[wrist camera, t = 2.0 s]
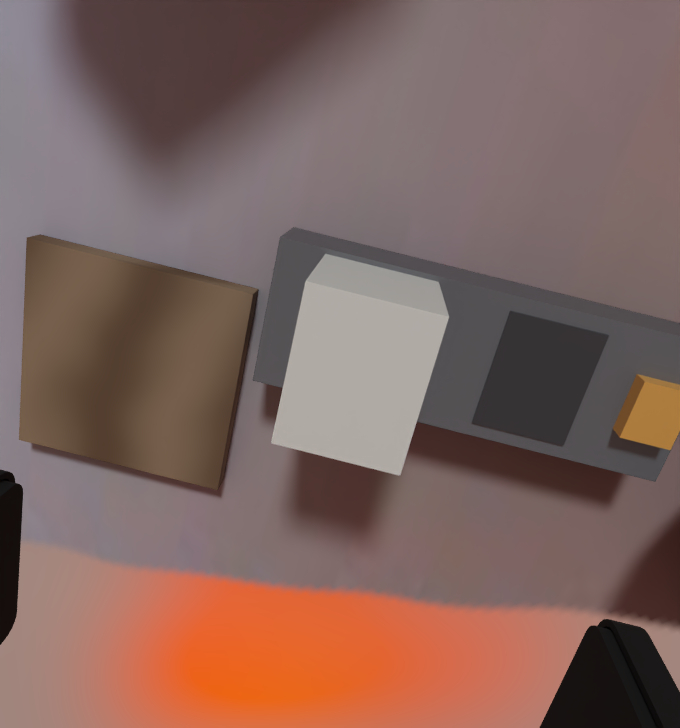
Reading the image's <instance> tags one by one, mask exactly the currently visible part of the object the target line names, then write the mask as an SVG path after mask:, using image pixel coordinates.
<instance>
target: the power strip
mask: <svg viewBox="0 0 680 728" xmlns="http://www.w3.org/2000/svg"><path fill="white" fill-rule="evenodd" d="M325 254H329V255H333V256H337V257H341V258H345V259H349V260H353V261H357V262H361V263H365V264H369V265H373V266H377V267H381V268H385V269H389V270H393V271H397V272H401V273H405V274H409V275H413V276H417V277H421V278H425V279H429V280H433V281H437V282H439V284H440V288H441V291H442V294H443V298H444V301H445V305H446V308H447V311H448V315H449V319H448V322H447V325H446V329H445V332H444V335H443V338H442V342H441V345H440V348H439V351H438V355H437V358H436V361H435V364H434V368H433V371H432V374H431V377H430V381H429V384H428V387H427V390H426V394H425V397H424V400H423V403H422V406H421V410H420V413H419V416H418V419H417V422H420V423H424V424H428V425H432V426H436V427H440V428H444V429H448V430H452V431H456V432H460V433H464V434H468V435H472V436H476V437H480V438H484V439H487V440H491V441H495V442H499V443H503V444H507V445H511V446H515V447H519V448H523V449H527V450H531V451H535V452H539V453H543V454H547V455H551V456H555V457H559V458H563V459H567V460H571V461H575V462H579V463H583V464H587V465H591V466H595V467H599V468H603V469H607V470H611V471H615V472H619V473H623V474H627V475H631V476H634V477H638V478H642V479H646V480H650V481H654V482H655V481H656V479H657V477H658V475H659V473H660V471H661V469H662V467H663V465H664V463H665V461H666V459H667V457H668V455H669V453H670V451H671V449H672V447H673V445H674V443H675V441H676V439H677V437H678V434H679V432H680V323H676V322H672V321H668V320H664V319H660V318H656V317H652V316H648V315H644V314H640V313H636V312H632V311H628V310H624V309H620V308H616V307H612V306H608V305H604V304H600V303H596V302H592V301H588V300H584V299H580V298H576V297H572V296H568V295H564V294H560V293H556V292H552V291H548V290H544V289H540V288H536V287H532V286H528V285H523V284H519V283H515V282H511V281H507V280H503V279H499V278H495V277H491V276H487V275H483V274H479V273H475V272H471V271H467V270H463V269H459V268H455V267H451V266H447V265H443V264H439V263H435V262H431V261H427V260H423V259H419V258H415V257H411V256H407V255H403V254H399V253H395V252H391V251H387V250H383V249H379V248H375V247H371V246H367V245H363V244H359V243H355V242H351V241H346V240H342V239H338V238H334V237H330V236H326V235H322V234H318V233H314V232H310V231H306V230H302V229H298V228H294V227H293V228H292V229H291V230H289V231H288V232H286V233H285V234H284V235H282V236H281V237H280V241H279V246H278V251H277V256H276V261H275V267H274V272H273V277H272V282H271V287H270V293H269V298H268V303H267V308H266V314H265V319H264V324H263V329H262V334H261V340H260V345H259V350H258V355H257V361H256V366H255V371H254V376H253V381H257V382H261V383H265V384H269V385H273V386H277V387H281V388H283V385H284V380H285V375H286V371H287V366H288V361H289V356H290V352H291V347H292V342H293V338H294V333H295V328H296V323H297V319H298V314H299V309H300V305H301V300H302V295H303V291H304V286H305V281H306V280H307V278H308V277H309V276H310V274H311V273H312V271H313V270H314V269H315V267H316V266H317V265H318V263H319V262H320V260H321V259H322V258H323V256H324V255H325Z"/></svg>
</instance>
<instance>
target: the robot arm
mask: <svg viewBox="0 0 680 728" xmlns="http://www.w3.org/2000/svg"><path fill="white" fill-rule="evenodd" d="M22 502H23V488H22V486H21V485H20V484H17V483H15V478H14V475H13V474H12V473H10V472H8V471H4V470H0V645H1V643H2V642H3V641H4V640H5V638H6V637H7V636H8V634H9V632H10V630H11V629H12V627H13V624H14V622H15V618H16V614H17V599H18V579H19V560H20V541H21V522H22ZM540 728H680V692H679V690H678V688H677V686H676V684H675V683H674V681H673V679H672V677H671V675H670V673H669V671H668V670H667V668H666V666H665V664H664V662H663V661H662V658H661V657H660V655H659V653H658V651H657V649H656V648H655V646H654V644H653V642H652V640H651V638H650V636H649V635H648V633H647V632H646V631H645V630H644V629H643V628H641V627H638V626H634V625H630V624H625V623H621V622H617V621H613V620H609V619H604V620H603V621H601V622H600V623H599V625H598V626H590V627H589V628H588V629H587V631H586V633H585V635H584V637H583V639H582V641H581V643H580V645H579V647H578V649H577V652H576V654H575V656H574V658H573V660H572V662H571V664H570V666H569V668H568V670H567V672H566V674H565V676H564V678H563V680H562V683H561V685H560V687H559V689H558V691H557V693H556V695H555V697H554V699H553V701H552V703H551V705H550V707H549V710H548V711H547V714H546V716H545V718H544V720H543V722H542V724H541V726H540Z"/></svg>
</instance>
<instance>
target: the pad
mask: <svg viewBox="0 0 680 728" xmlns="http://www.w3.org/2000/svg"><path fill="white" fill-rule="evenodd" d="M257 294H258V289H256V288H252V287H248V286H244V285H240V284H236V283H232V282H228V281H224V280H220V279H216V278H212V277H208V276H204V275H200V274H196V273H192V272H188V271H184V270H180V269H176V268H172V267H168V266H164V265H160V264H156V263H152V262H148V261H144V260H140V259H136V258H132V257H128V256H124V255H120V254H116V253H112V252H108V251H104V250H100V249H96V248H92V247H88V246H84V245H80V244H76V243H72V242H68V241H64V240H60V239H56V238H52V237H48V236H44V235H36V236H32V237H28V238H27V246H26V272H25V298H24V324H23V350H22V376H21V402H20V428H19V440H22V441H26V442H30V443H34V444H38V445H42V446H46V447H50V448H54V449H58V450H62V451H66V452H70V453H74V454H77V455H81V456H85V457H89V458H93V459H97V460H101V461H105V462H109V463H113V464H117V465H121V466H125V467H129V468H133V469H137V470H140V471H144V472H148V473H152V474H156V475H160V476H164V477H168V478H172V479H176V480H180V481H184V482H188V483H192V484H196V485H200V486H203V487H207V488H211V489H215V490H218V488H219V486H220V485H221V483H222V481H223V478H224V473H225V468H226V462H227V457H228V451H229V446H230V440H231V435H232V430H233V424H234V419H235V413H236V408H237V402H238V397H239V392H240V386H241V381H242V375H243V370H244V364H245V359H246V354H247V348H248V343H249V337H250V332H251V326H252V321H253V316H254V310H255V305H256V299H257Z"/></svg>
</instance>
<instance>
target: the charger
mask: <svg viewBox="0 0 680 728" xmlns="http://www.w3.org/2000/svg"><path fill="white" fill-rule="evenodd" d="M448 319H449V315H448V311H447V308H446V305H445V301H444V298H443V294H442V291H441V288H440V284H439V282H437V281H433V280H429V279H425V278H421V277H417V276H413V275H409V274H405V273H401V272H397V271H393V270H389V269H385V268H381V267H377V266H373V265H369V264H365V263H361V262H357V261H353V260H349V259H345V258H341V257H337V256H333V255H329V254H325V255H324V256H323V258H322V259H321V260H320V262H319V263H318V265H317V266H316V267H315V269H314V270H313V271H312V273H311V274H310V276H309V277H308V278H307V280H306V281H305V286H304V291H303V295H302V300H301V305H300V309H299V314H298V319H297V323H296V328H295V333H294V338H293V342H292V347H291V352H290V356H289V361H288V366H287V371H286V375H285V380H284V385H283V389H282V394H281V399H280V403H279V408H278V413H277V418H276V422H275V427H274V432H273V436H272V441H271V443H272V444H276V445H280V446H284V447H288V448H292V449H296V450H300V451H304V452H308V453H312V454H316V455H320V456H324V457H328V458H332V459H336V460H340V461H344V462H348V463H351V464H355V465H359V466H363V467H367V468H371V469H375V470H379V471H383V472H387V473H391V474H395V475H399V476H400V475H401V471H402V468H403V465H404V462H405V458H406V455H407V452H408V449H409V445H410V442H411V439H412V436H413V432H414V429H415V426H416V423H417V419H418V416H419V413H420V410H421V406H422V403H423V400H424V397H425V394H426V390H427V387H428V384H429V381H430V377H431V374H432V371H433V368H434V364H435V361H436V358H437V355H438V351H439V348H440V345H441V342H442V338H443V335H444V332H445V329H446V325H447V322H448Z"/></svg>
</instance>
